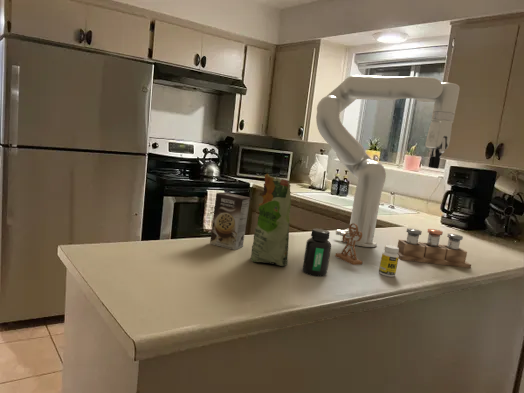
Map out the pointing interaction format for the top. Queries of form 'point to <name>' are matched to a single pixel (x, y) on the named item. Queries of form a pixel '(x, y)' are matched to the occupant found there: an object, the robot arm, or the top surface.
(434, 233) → the plug mid
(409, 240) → the plug
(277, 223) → the pouch
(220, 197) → the coffee box
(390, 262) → the supplement bottle
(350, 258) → the tan toy soldier
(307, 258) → the supplement bottle
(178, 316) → the top surface
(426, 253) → the socket board
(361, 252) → the top surface
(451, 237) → the plug
